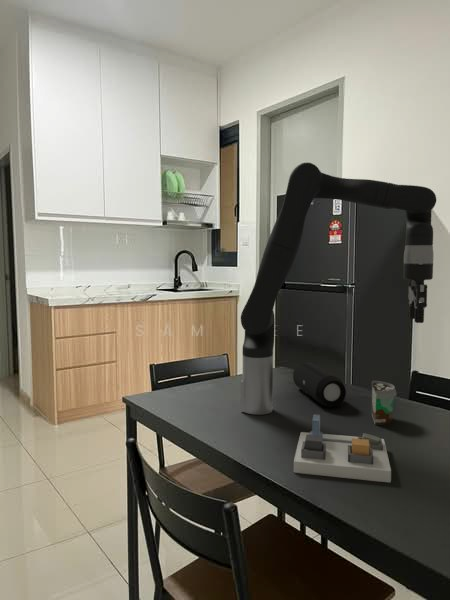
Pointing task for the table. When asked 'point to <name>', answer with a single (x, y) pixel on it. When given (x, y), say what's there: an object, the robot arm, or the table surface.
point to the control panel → (343, 459)
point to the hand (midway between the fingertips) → (416, 320)
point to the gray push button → (313, 442)
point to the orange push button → (360, 446)
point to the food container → (382, 402)
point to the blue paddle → (316, 426)
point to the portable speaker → (319, 384)
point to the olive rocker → (371, 439)
